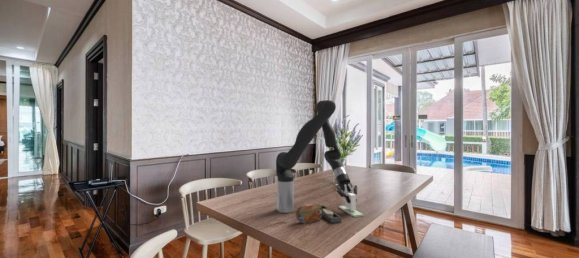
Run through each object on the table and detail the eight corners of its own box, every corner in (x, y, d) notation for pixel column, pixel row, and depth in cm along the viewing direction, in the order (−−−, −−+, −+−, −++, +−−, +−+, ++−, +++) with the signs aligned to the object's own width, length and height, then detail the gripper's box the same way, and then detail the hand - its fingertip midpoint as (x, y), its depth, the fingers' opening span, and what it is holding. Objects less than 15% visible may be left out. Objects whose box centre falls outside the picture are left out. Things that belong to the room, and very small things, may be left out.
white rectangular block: (351, 210, 135) (351, 195, 135) (345, 207, 141) (345, 192, 141) (355, 210, 136) (355, 194, 136) (349, 206, 142) (350, 192, 142)
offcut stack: (328, 219, 127) (328, 214, 127) (320, 213, 137) (320, 208, 137) (333, 219, 128) (333, 213, 128) (326, 213, 138) (326, 207, 138)
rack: (331, 223, 122) (331, 218, 122) (315, 210, 141) (315, 206, 141) (341, 222, 124) (341, 217, 124) (323, 209, 142) (324, 205, 142)
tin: (298, 225, 120) (298, 207, 120) (295, 222, 123) (295, 205, 123) (323, 219, 127) (323, 203, 127) (320, 217, 129) (320, 201, 129)
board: (354, 217, 130) (354, 215, 130) (339, 207, 146) (339, 206, 146) (363, 216, 132) (363, 214, 132) (347, 207, 147) (347, 205, 147)
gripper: (333, 173, 144) (343, 200, 132) (354, 172, 148) (366, 198, 136) (329, 180, 149) (338, 207, 137) (349, 179, 153) (360, 204, 142)
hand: (352, 202), depth 137 cm, fingers open, 3 cm apart
